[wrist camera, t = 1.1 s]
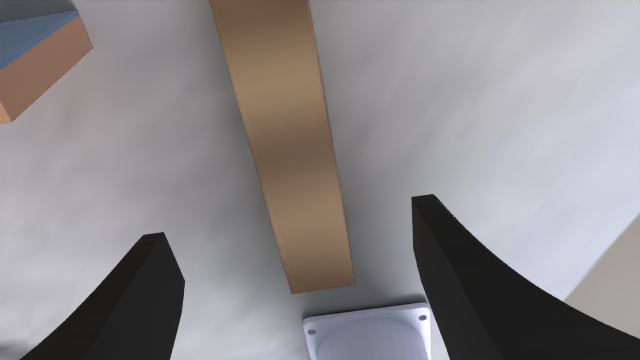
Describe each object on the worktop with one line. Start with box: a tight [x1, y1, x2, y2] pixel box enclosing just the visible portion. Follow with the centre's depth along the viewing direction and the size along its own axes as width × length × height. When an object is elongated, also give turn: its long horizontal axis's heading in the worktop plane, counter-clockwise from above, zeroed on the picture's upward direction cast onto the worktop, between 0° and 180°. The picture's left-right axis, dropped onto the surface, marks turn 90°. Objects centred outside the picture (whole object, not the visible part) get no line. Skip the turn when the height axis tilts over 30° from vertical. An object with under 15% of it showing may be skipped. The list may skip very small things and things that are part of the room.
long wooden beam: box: [209, 0, 355, 294], centre depth 20 cm, size 14×3×5 cm, turn 9°
